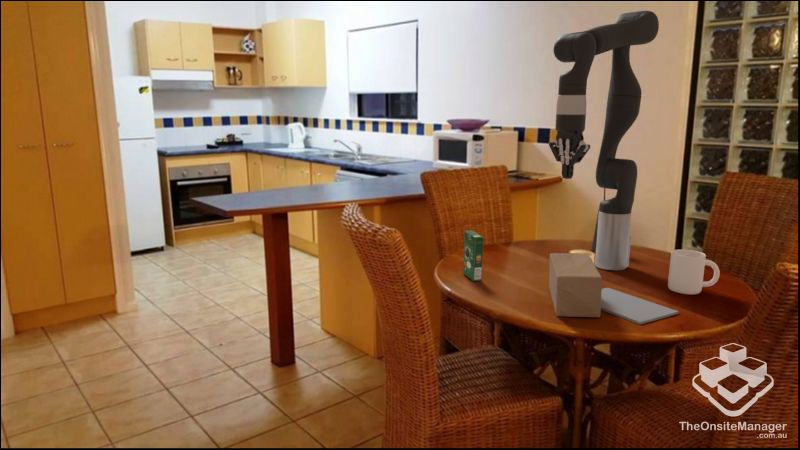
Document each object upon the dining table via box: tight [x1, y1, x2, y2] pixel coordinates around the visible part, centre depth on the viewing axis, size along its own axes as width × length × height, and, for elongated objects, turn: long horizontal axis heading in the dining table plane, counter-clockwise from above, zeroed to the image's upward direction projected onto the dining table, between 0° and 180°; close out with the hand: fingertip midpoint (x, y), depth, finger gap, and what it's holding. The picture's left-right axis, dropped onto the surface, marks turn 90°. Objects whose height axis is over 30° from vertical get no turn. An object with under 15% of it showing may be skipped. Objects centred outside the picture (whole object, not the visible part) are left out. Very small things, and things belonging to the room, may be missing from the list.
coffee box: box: [462, 230, 485, 282], centre depth 164 cm, size 8×3×13 cm, turn 16°
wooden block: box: [548, 252, 603, 318], centre depth 143 cm, size 10×10×20 cm
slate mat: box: [601, 287, 680, 325], centre depth 143 cm, size 14×21×1 cm, turn 30°
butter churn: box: [590, 188, 607, 253], centre depth 192 cm, size 9×10×28 cm
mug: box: [667, 249, 721, 295], centre depth 153 cm, size 12×8×10 cm
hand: (567, 178), depth 155 cm, fingers closed
